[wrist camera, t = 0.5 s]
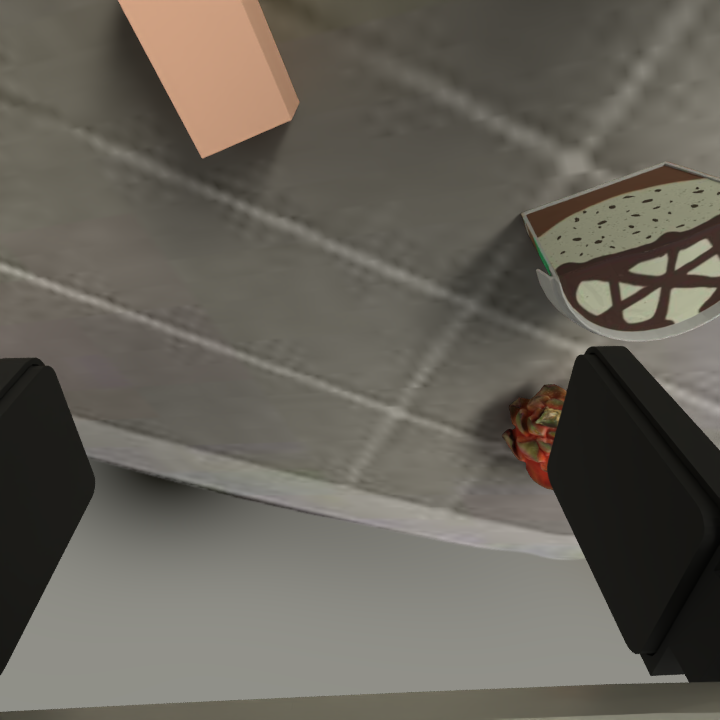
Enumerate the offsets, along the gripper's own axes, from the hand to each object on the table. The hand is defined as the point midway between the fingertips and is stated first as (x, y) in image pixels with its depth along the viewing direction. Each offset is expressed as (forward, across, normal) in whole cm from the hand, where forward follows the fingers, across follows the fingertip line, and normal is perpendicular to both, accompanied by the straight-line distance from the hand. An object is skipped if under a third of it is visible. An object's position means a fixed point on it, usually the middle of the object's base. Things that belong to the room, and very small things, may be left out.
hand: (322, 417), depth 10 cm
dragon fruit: (+27, -19, +21) cm, 39 cm away
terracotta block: (+26, +6, -6) cm, 28 cm away
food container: (+26, -18, +6) cm, 33 cm away
